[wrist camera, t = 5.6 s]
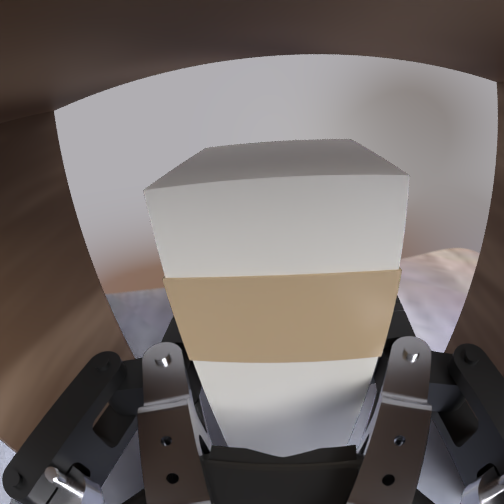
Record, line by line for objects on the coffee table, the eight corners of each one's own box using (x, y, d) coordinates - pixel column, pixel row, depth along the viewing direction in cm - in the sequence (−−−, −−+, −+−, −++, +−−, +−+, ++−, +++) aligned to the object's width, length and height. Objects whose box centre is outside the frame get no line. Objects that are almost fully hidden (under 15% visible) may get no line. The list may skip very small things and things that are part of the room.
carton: (241, 476, 11) (139, 191, 5) (250, 407, 15) (204, 147, 9) (333, 476, 11) (413, 176, 4) (329, 405, 15) (352, 139, 8)
